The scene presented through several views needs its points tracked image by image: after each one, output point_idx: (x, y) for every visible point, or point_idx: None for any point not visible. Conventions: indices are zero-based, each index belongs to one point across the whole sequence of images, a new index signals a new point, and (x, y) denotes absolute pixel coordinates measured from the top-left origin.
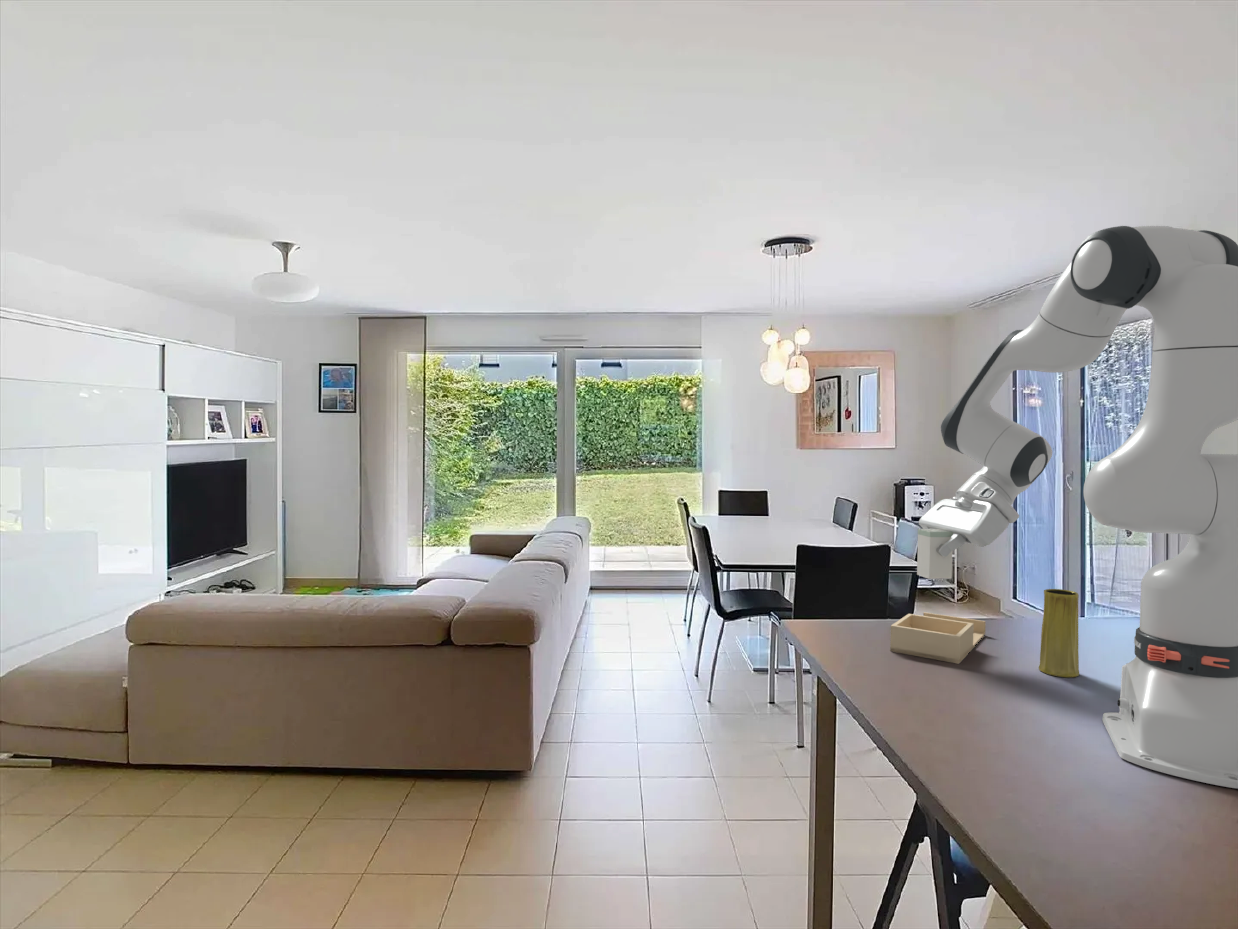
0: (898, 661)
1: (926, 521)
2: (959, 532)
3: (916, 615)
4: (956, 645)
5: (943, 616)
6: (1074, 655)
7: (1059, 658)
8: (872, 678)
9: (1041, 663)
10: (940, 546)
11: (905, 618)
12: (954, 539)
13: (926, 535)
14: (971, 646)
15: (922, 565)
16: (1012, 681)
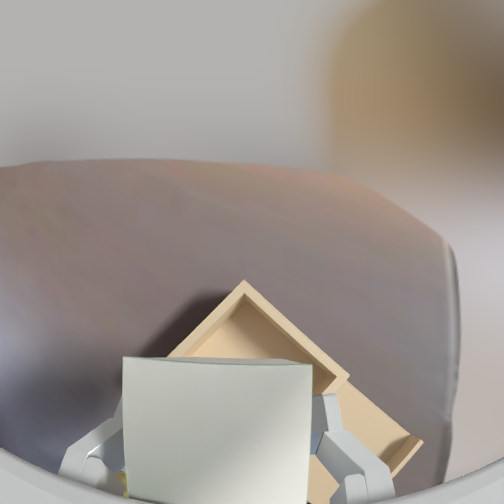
0: (188, 276)
1: (468, 492)
2: (30, 463)
3: (330, 385)
4: None
5: (393, 470)
6: None
7: None
8: (126, 201)
9: (118, 477)
10: None
11: (305, 345)
12: (72, 448)
13: (182, 361)
14: None
15: (241, 359)
16: (84, 396)
